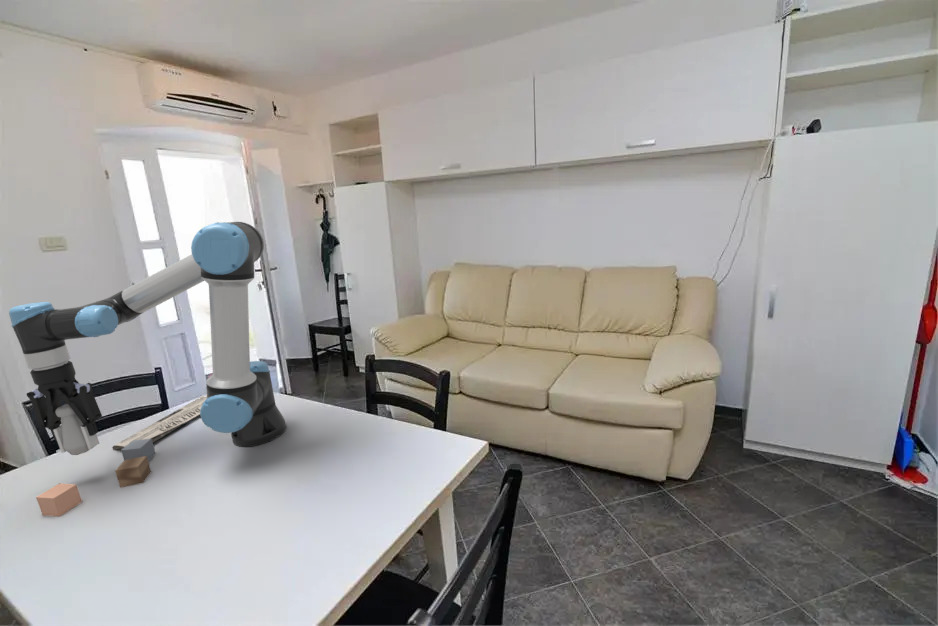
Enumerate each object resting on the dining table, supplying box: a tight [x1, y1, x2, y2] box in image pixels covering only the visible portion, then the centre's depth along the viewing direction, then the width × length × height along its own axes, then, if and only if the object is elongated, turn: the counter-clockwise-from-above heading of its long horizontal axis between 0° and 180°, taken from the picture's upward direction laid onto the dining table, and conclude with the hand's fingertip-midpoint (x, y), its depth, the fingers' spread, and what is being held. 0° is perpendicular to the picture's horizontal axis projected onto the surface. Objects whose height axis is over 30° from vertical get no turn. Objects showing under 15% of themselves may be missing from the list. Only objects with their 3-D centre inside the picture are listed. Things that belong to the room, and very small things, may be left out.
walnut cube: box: [114, 456, 152, 488], centre depth 109 cm, size 5×5×5 cm
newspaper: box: [111, 394, 207, 451], centre depth 139 cm, size 35×12×4 cm, turn 169°
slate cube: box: [120, 439, 157, 461], centre depth 118 cm, size 5×5×5 cm
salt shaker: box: [55, 403, 91, 456], centre depth 107 cm, size 6×6×13 cm
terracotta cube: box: [35, 483, 83, 517], centre depth 99 cm, size 5×5×5 cm
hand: (80, 447), depth 108 cm, fingers closed on salt shaker, 6 cm apart
